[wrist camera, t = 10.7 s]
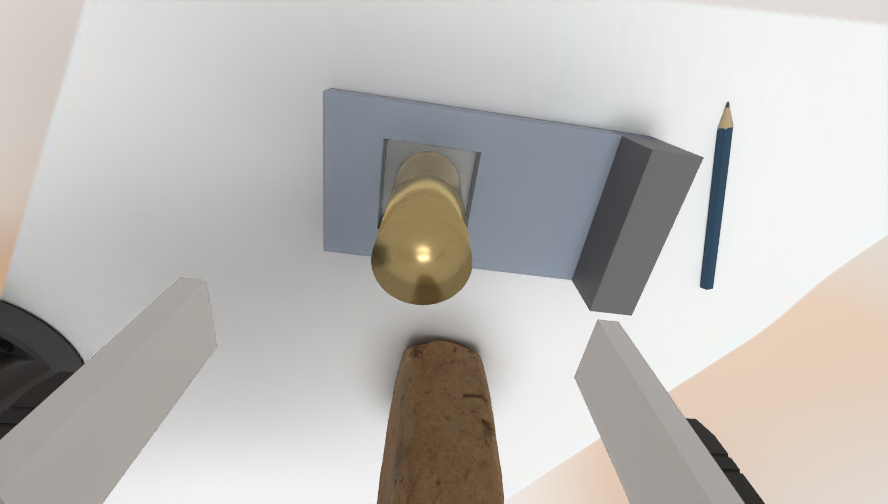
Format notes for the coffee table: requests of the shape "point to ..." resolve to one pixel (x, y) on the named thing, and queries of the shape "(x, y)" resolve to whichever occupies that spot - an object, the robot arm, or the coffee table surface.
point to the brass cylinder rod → (423, 233)
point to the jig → (517, 190)
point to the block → (441, 431)
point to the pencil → (717, 198)
